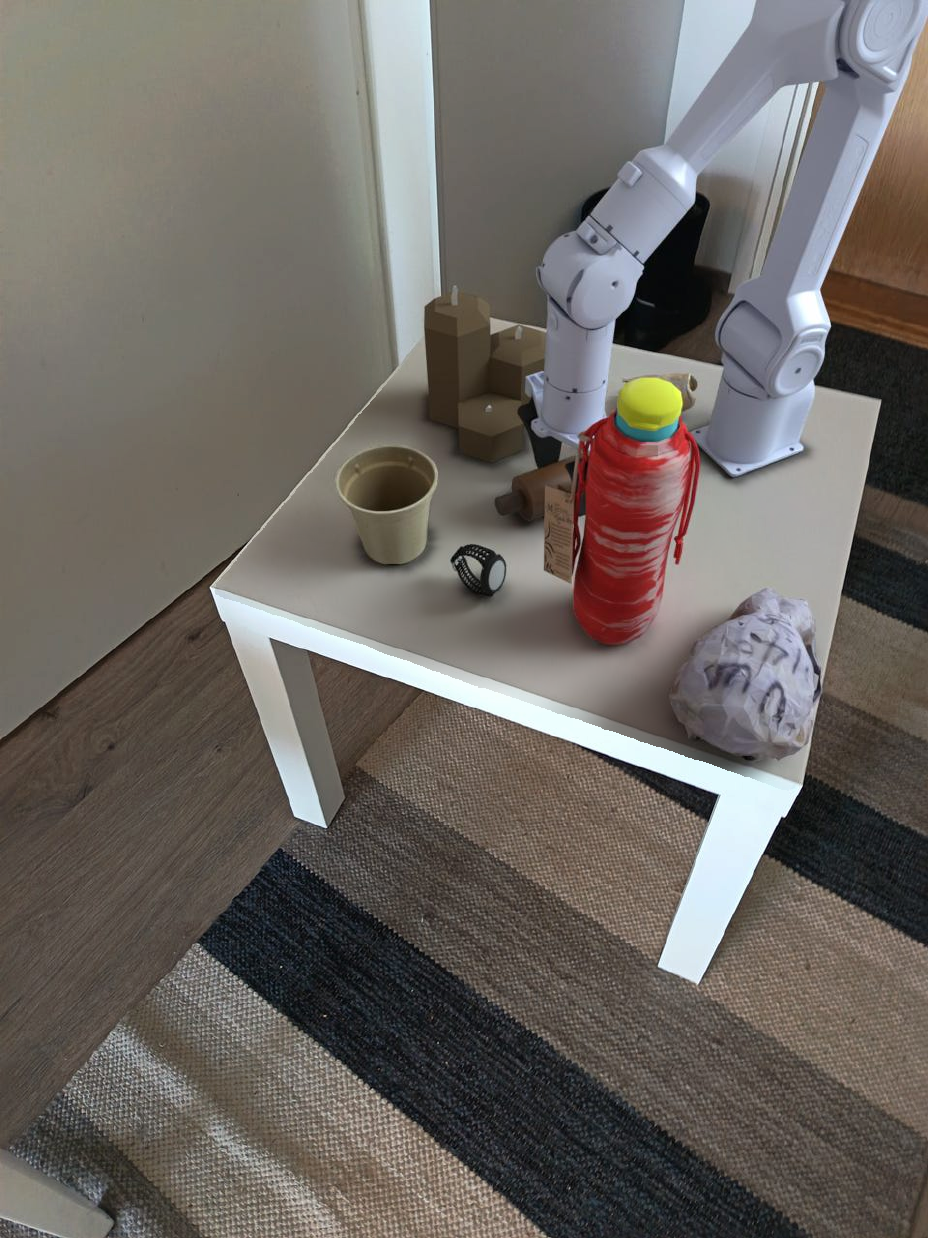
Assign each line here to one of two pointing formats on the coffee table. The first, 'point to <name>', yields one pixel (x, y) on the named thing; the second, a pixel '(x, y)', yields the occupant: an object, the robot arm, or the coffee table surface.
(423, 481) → the flower pot
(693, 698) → the scribbled crumpled paper bundle
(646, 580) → the water bottle
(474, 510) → the coffee table surface
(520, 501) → the rolling pin
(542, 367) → the candle
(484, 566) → the smartwatch
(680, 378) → the shell
